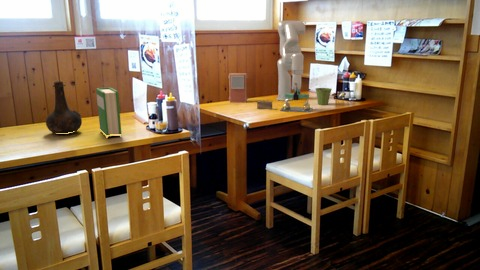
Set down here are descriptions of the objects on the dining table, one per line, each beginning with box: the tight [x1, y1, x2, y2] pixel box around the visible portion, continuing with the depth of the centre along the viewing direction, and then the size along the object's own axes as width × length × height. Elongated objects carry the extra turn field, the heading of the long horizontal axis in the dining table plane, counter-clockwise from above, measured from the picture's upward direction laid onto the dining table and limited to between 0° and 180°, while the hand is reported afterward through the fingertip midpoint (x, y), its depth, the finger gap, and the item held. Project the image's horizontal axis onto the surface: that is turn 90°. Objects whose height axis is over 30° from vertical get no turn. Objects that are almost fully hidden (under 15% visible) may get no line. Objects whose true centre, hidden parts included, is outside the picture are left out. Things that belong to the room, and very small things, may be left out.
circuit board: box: [285, 92, 310, 99], centre depth 281 cm, size 7×16×2 cm, turn 73°
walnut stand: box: [256, 100, 273, 110], centre depth 289 cm, size 3×10×5 cm, turn 73°
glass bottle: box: [45, 80, 83, 134], centre depth 225 cm, size 18×18×28 cm
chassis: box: [279, 99, 314, 113], centre depth 283 cm, size 12×20×7 cm, turn 73°
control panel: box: [227, 72, 249, 104], centre depth 316 cm, size 21×7×15 cm
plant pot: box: [315, 87, 333, 106], centre depth 302 cm, size 12×12×11 cm
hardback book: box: [95, 87, 122, 135], centre depth 221 cm, size 18×7×24 cm, turn 29°
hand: (296, 99), depth 282 cm, fingers closed on circuit board, 7 cm apart
